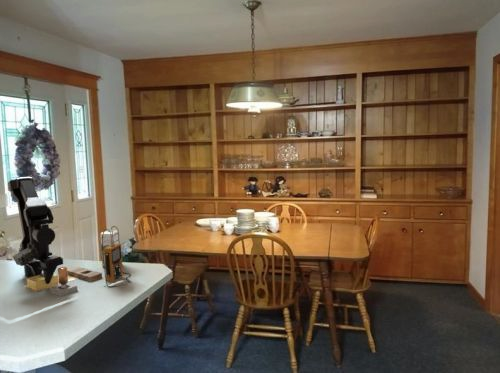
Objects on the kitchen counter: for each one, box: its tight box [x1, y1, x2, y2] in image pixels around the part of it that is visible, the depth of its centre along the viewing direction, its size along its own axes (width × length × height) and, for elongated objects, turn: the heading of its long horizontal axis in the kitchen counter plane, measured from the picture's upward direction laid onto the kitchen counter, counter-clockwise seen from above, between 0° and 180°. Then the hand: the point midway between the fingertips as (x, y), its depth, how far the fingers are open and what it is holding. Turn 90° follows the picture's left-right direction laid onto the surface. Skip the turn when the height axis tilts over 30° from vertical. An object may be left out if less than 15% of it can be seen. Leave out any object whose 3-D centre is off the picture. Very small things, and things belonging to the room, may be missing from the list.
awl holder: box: [49, 282, 79, 297], centre depth 132 cm, size 6×6×2 cm
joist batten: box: [67, 266, 103, 282], centre depth 147 cm, size 15×5×2 cm, turn 56°
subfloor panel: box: [24, 275, 79, 292], centre depth 142 cm, size 10×15×1 cm, turn 146°
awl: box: [57, 266, 69, 289], centre depth 132 cm, size 3×3×9 cm
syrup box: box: [99, 230, 121, 268], centre depth 161 cm, size 6×6×14 cm
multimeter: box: [102, 225, 132, 288], centre depth 143 cm, size 15×10×20 cm
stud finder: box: [26, 272, 58, 291], centre depth 139 cm, size 6×8×4 cm
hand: (43, 282), depth 139 cm, fingers closed on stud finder, 6 cm apart
